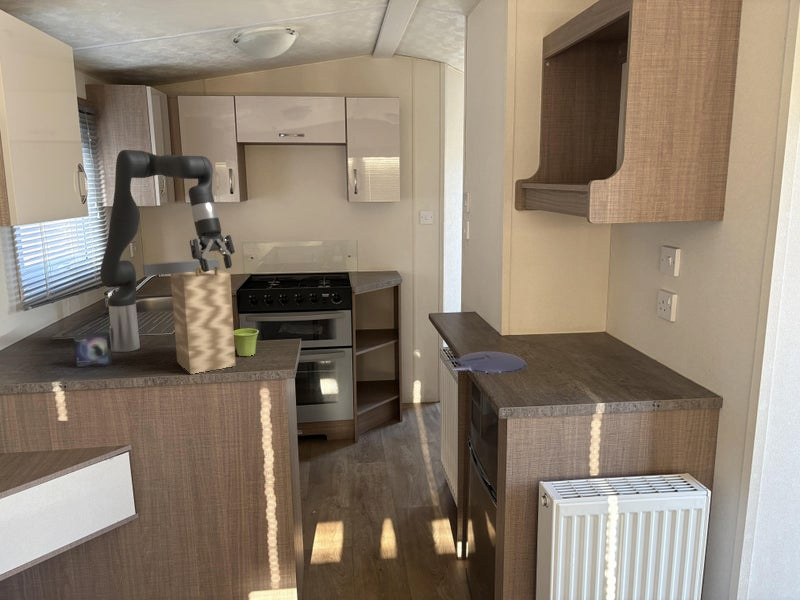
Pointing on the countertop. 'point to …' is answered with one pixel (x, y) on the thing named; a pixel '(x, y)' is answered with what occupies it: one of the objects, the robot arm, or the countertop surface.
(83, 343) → the small box
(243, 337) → the plant pot
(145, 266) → the bar
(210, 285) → the oak block
